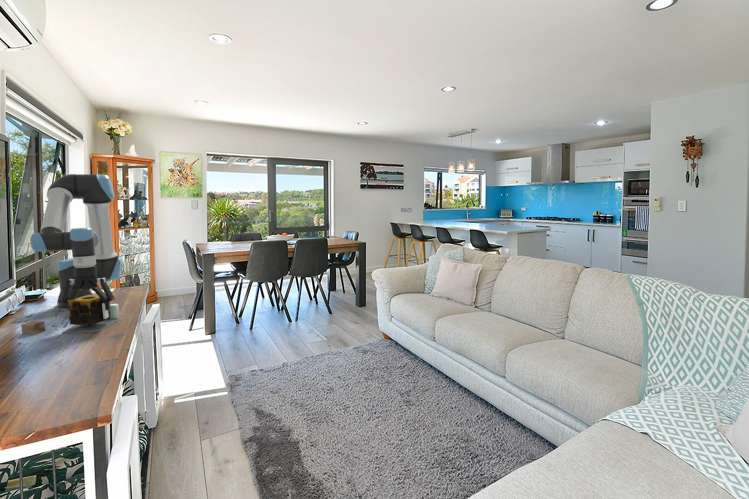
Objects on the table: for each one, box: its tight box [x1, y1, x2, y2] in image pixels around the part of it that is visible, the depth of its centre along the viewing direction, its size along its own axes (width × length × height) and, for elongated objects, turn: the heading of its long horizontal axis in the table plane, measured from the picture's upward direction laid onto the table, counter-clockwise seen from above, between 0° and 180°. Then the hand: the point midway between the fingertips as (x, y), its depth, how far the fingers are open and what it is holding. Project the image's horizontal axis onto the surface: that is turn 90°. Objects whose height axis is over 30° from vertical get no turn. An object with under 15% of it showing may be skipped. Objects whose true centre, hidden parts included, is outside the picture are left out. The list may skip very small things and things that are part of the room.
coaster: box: [61, 319, 119, 334], centre depth 167 cm, size 14×14×1 cm
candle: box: [68, 294, 110, 326], centre depth 166 cm, size 10×10×10 cm
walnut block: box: [20, 320, 46, 336], centre depth 161 cm, size 5×5×4 cm
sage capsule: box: [107, 303, 120, 320], centre depth 178 cm, size 4×4×6 cm
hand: (90, 318), depth 166 cm, fingers closed on candle, 11 cm apart
